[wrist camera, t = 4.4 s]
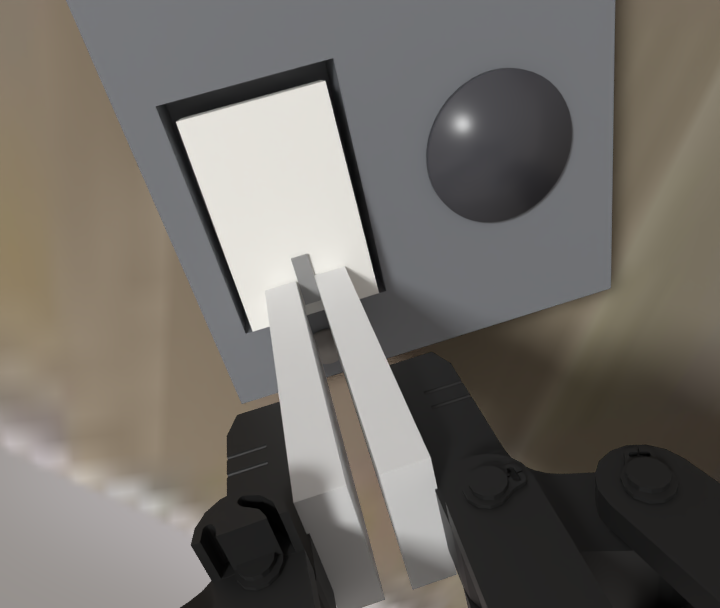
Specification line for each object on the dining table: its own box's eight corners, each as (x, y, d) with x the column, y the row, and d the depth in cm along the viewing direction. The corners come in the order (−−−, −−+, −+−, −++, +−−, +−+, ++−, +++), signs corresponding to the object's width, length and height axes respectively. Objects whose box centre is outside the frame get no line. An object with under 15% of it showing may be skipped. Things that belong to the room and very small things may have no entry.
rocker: (371, 279, 15) (379, 294, 14) (252, 315, 15) (252, 332, 14) (319, 79, 13) (325, 81, 12) (180, 118, 13) (175, 121, 12)
